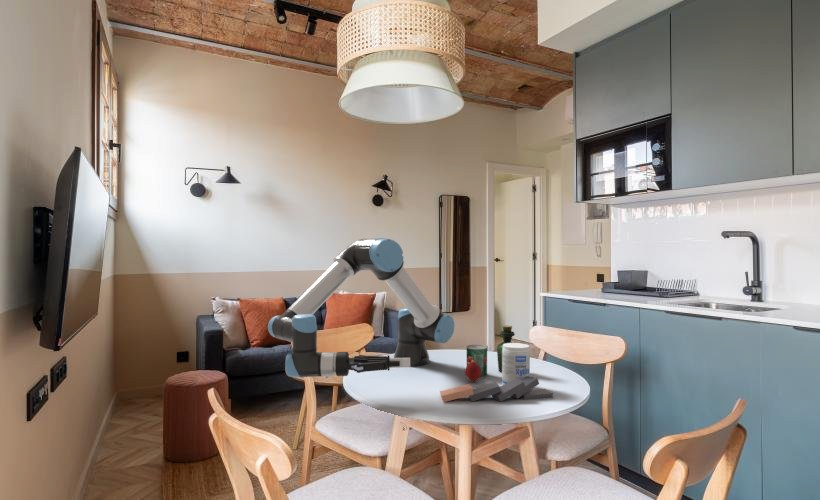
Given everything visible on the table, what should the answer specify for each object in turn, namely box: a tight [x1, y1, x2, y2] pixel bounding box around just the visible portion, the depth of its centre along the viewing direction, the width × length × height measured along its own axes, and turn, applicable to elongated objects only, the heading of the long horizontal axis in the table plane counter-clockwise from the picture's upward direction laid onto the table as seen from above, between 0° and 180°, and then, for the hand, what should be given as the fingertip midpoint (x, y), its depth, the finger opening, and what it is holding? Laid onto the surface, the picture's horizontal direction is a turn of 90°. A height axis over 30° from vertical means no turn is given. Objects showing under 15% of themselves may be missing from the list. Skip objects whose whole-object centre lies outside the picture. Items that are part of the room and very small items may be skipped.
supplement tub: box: [501, 342, 531, 386], centre depth 164 cm, size 10×10×15 cm
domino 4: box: [520, 388, 554, 401], centre depth 154 cm, size 2×5×10 cm
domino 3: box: [510, 375, 540, 400], centre depth 154 cm, size 2×5×10 cm
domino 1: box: [468, 381, 501, 403], centre depth 151 cm, size 2×5×10 cm
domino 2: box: [491, 379, 526, 403], centre depth 151 cm, size 2×5×10 cm
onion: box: [464, 360, 481, 383], centre depth 170 cm, size 6×6×8 cm
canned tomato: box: [466, 344, 488, 379], centre depth 179 cm, size 8×8×11 cm
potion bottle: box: [496, 325, 515, 374], centre depth 184 cm, size 8×8×18 cm
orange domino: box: [439, 383, 474, 403], centre depth 150 cm, size 2×5×10 cm
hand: (410, 362), depth 149 cm, fingers closed
